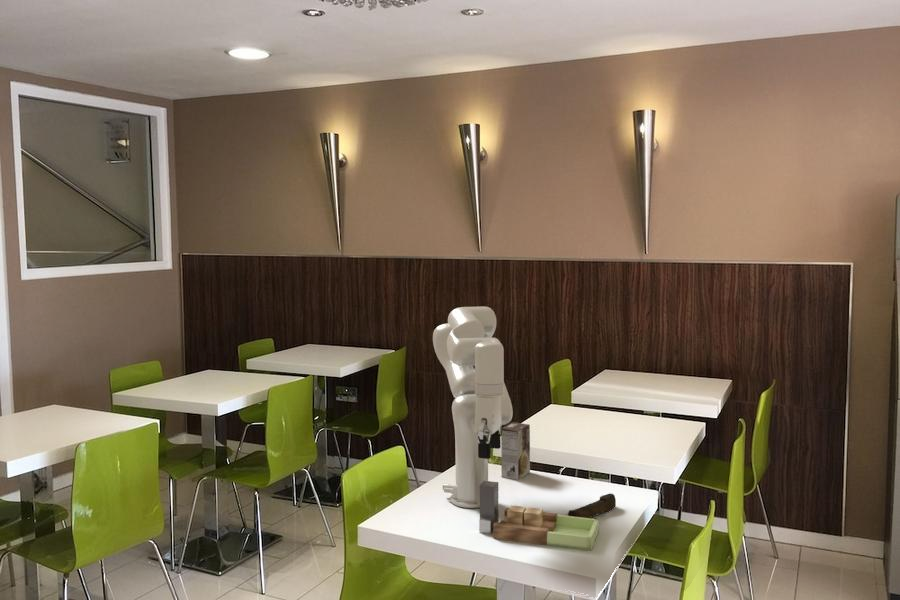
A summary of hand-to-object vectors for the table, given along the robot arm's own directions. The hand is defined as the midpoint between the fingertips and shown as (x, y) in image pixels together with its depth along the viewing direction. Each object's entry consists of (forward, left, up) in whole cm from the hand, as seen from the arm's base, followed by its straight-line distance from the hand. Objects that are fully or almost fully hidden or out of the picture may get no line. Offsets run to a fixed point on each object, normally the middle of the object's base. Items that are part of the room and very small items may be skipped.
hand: (489, 453), depth 202 cm
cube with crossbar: (0, 0, -20) cm, 20 cm away
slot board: (+10, 0, -20) cm, 23 cm away
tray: (+22, 0, -20) cm, 30 cm away
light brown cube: (+7, 0, -18) cm, 20 cm away
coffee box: (-5, +46, -20) cm, 51 cm away
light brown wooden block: (+12, 0, -18) cm, 22 cm away
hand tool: (+25, +18, -21) cm, 37 cm away
